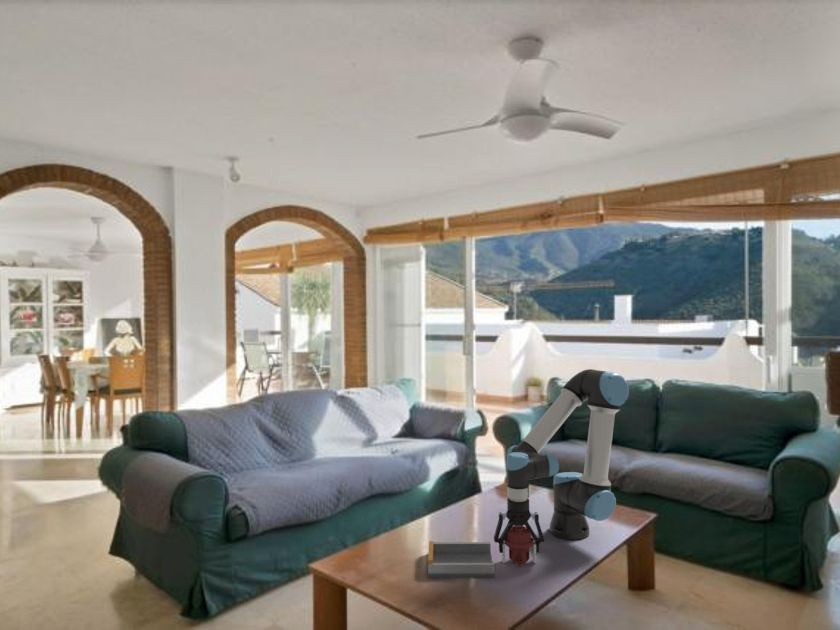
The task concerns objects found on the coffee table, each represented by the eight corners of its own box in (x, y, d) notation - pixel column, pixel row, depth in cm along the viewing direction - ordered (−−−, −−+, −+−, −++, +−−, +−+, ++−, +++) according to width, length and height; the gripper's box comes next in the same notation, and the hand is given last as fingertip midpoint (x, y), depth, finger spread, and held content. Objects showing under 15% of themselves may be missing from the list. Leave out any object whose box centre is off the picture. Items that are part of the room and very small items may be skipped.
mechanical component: (533, 556, 203) (533, 569, 193) (505, 555, 205) (504, 567, 195) (533, 522, 202) (533, 533, 193) (504, 521, 204) (503, 532, 195)
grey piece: (490, 552, 207) (490, 538, 206) (495, 578, 188) (494, 562, 188) (429, 553, 208) (429, 538, 207) (428, 578, 189) (428, 562, 188)
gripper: (548, 494, 202) (549, 556, 202) (484, 494, 202) (486, 556, 203) (552, 501, 194) (554, 566, 194) (486, 502, 195) (487, 566, 195)
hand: (519, 561), depth 199 cm, fingers closed on mechanical component, 10 cm apart
